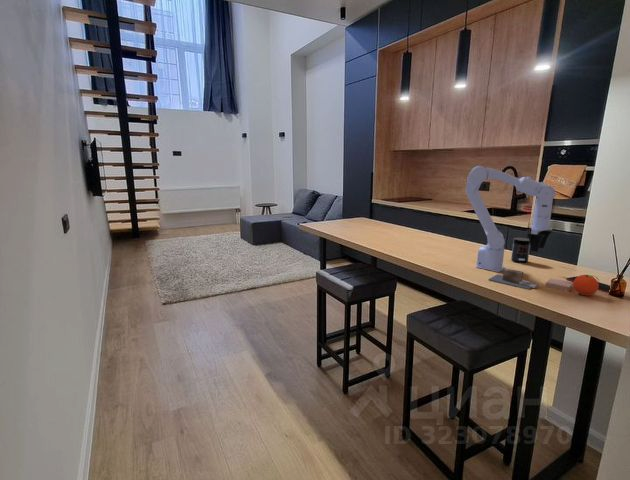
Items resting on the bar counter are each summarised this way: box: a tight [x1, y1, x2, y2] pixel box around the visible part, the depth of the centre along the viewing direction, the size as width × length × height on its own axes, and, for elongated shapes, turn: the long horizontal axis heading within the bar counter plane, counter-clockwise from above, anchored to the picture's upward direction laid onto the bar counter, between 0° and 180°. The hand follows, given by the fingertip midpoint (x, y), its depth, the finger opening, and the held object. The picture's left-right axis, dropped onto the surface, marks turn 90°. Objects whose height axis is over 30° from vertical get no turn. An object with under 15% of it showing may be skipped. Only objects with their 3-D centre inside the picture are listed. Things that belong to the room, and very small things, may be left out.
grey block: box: [502, 268, 539, 289], centre depth 130 cm, size 11×4×4 cm, turn 43°
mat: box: [487, 274, 536, 291], centre depth 133 cm, size 14×9×1 cm, turn 43°
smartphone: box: [565, 275, 611, 293], centre depth 130 cm, size 7×1×15 cm
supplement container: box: [510, 237, 531, 264], centre depth 159 cm, size 7×7×10 cm
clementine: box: [572, 274, 600, 296], centre depth 119 cm, size 8×7×7 cm
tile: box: [545, 277, 574, 292], centre depth 128 cm, size 2×7×7 cm
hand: (537, 249), depth 141 cm, fingers open, 7 cm apart
